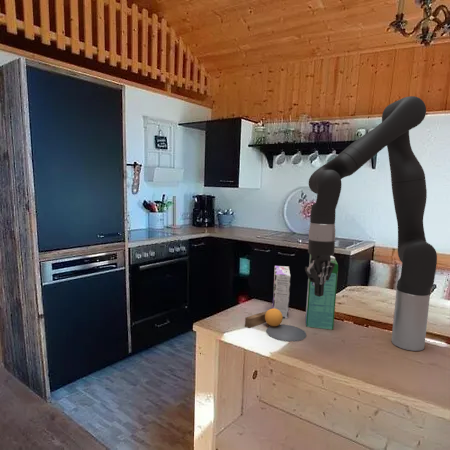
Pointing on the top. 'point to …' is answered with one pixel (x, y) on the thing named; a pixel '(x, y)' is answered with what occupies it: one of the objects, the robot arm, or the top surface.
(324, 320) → the milk carton
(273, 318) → the ball
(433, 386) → the top surface
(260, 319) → the bar
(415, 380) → the top surface
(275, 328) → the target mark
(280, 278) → the candy box
